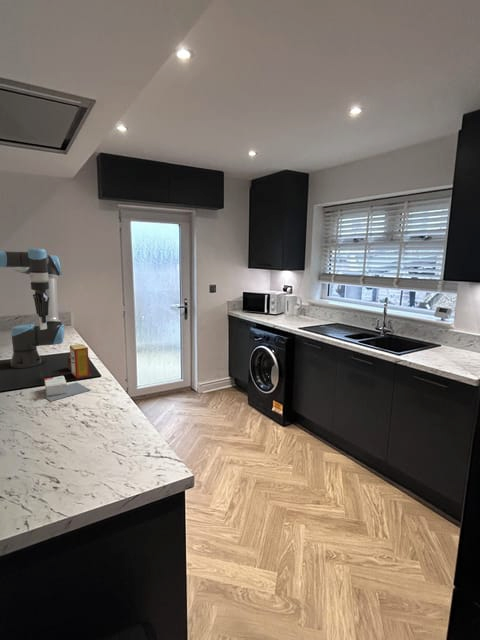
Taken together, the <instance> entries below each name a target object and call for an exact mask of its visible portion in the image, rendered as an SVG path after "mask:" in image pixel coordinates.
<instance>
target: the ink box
mask: <svg viewBox="0 0 480 640" xmlns="http://www.w3.org/2000/svg"><path fill="white" fill-rule="evenodd" d="M67 385H68V384H67V380H66V378H65V376H64V375H60V376H53V377H48V378H44V386H45V387H44V388H45V391H46V394H47V396H51V395H58V394H64V393H67Z"/></svg>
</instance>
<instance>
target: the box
mask: <svg viewBox="0 0 480 640" xmlns="http://www.w3.org/2000/svg"><path fill="white" fill-rule="evenodd" d="M67 366H68V371H71V358H70V356H68V357H67Z"/></svg>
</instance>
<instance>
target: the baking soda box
mask: <svg viewBox="0 0 480 640" xmlns="http://www.w3.org/2000/svg"><path fill="white" fill-rule="evenodd" d="M69 354H70V355H69V357H70V358H71V370H70V371H71V374H72V376H73V377H74V378H75V377H76V378H75V379H81V378H82V379H83V378H87V377H90V364H89V363H90V362H89V361H90V360H89V348H88V346H86V345H85V344H84V343H79V344H71V345H69ZM86 376H87V377H86Z"/></svg>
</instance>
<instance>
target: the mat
mask: <svg viewBox="0 0 480 640" xmlns="http://www.w3.org/2000/svg"><path fill="white" fill-rule="evenodd" d="M90 391H91V389H89V387H86V386H85V385H82V384H81V383H78V382H74V383H69V384H67V393H64V394H58V395H51V396H47V394H46V390H42V391H39V392H38V394H39V395H40V396H42V397H43V398H45V399H46V400H47V401H49V402H55V401H59V400H62V399H66V398H69V397H73V396H76V395H79V394H83V393H86V392H90Z"/></svg>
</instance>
